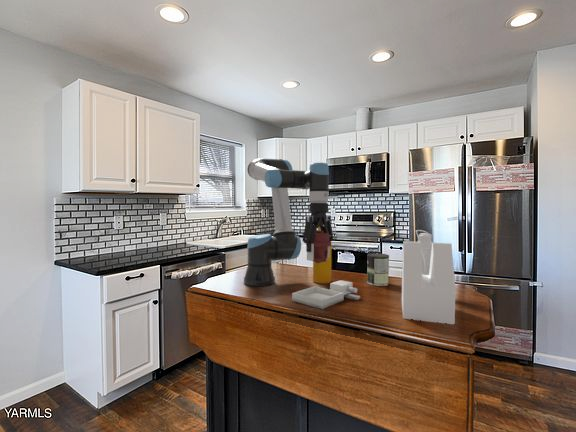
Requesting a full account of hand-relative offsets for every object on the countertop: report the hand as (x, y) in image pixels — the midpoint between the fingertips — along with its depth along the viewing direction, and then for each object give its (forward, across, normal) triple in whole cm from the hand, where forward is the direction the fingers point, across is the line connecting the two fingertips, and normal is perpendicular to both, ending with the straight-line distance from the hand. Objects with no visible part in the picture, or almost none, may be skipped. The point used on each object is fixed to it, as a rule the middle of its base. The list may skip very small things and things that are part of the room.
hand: (318, 258), depth 121 cm
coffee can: (+17, +43, -5) cm, 46 cm away
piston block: (+15, +13, -5) cm, 21 cm away
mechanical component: (+1, 0, 0) cm, 1 cm away
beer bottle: (+17, +27, +17) cm, 36 cm away
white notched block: (+17, +16, -36) cm, 43 cm away
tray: (+17, 0, 0) cm, 17 cm away
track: (+17, +13, -5) cm, 22 cm away
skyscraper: (+17, +40, -28) cm, 51 cm away
